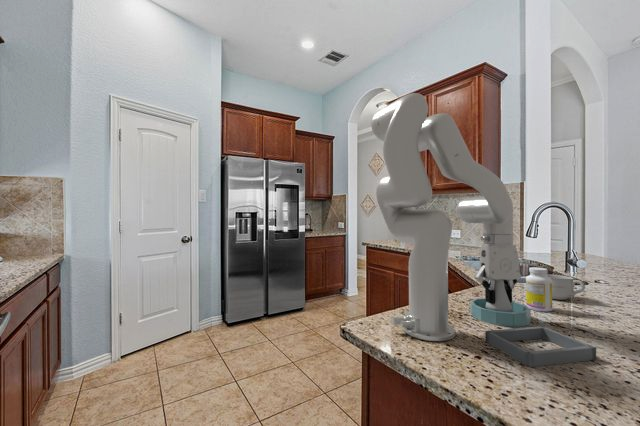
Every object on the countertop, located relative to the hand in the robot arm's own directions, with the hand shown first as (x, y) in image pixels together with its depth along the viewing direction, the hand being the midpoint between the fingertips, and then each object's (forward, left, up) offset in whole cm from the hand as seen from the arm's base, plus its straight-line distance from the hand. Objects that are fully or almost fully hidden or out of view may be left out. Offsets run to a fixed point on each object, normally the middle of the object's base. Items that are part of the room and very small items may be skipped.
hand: (498, 301), depth 86 cm
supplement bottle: (+18, +4, -5) cm, 19 cm away
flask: (0, 0, -2) cm, 2 cm away
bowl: (0, 0, -5) cm, 5 cm away
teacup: (+35, +12, -5) cm, 37 cm away
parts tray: (-8, -20, -5) cm, 22 cm away
